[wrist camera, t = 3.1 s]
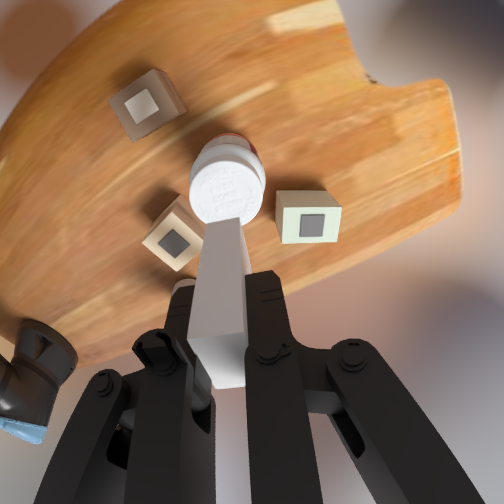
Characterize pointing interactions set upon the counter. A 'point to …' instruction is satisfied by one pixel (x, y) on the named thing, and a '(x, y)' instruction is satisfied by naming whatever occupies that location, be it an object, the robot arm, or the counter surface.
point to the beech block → (176, 234)
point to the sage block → (307, 216)
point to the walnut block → (147, 104)
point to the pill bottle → (227, 180)
